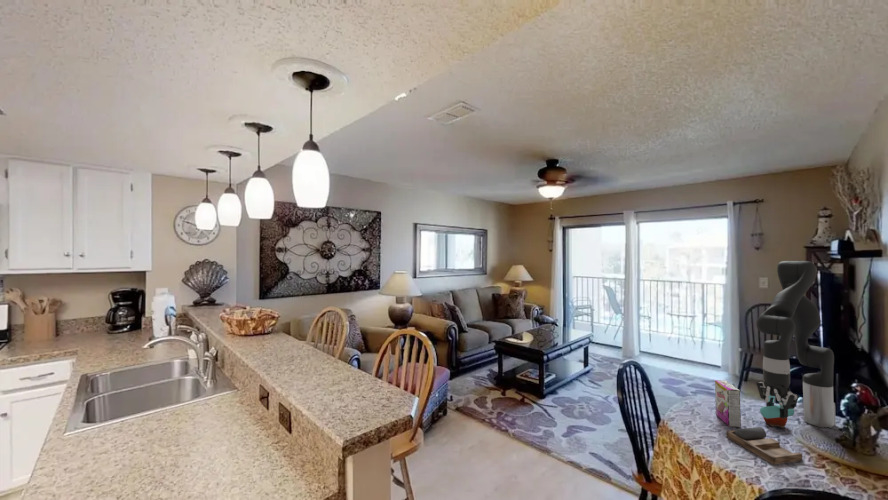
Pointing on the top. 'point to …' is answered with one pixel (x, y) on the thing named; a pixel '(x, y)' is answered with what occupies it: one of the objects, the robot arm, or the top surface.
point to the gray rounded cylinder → (751, 433)
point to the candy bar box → (728, 403)
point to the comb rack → (766, 449)
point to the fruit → (776, 422)
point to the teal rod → (773, 411)
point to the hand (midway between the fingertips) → (777, 415)
